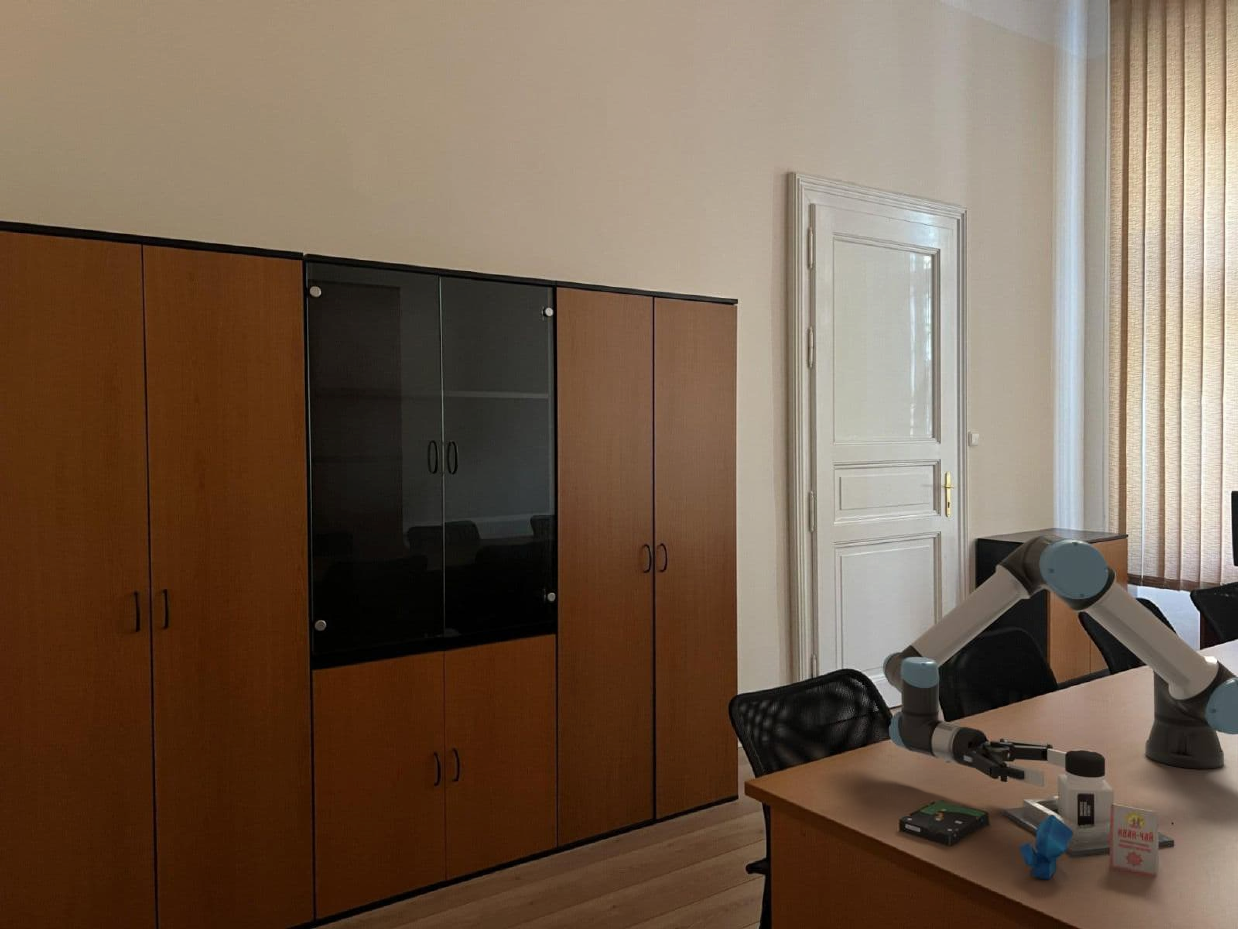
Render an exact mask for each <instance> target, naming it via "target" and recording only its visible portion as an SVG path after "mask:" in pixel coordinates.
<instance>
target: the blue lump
mask: <svg viewBox="0 0 1238 929" xmlns="http://www.w3.org/2000/svg"><path fill="white" fill-rule="evenodd" d="M1072 835H1073V831H1072V830H1071V829H1069V828H1068V827H1067V826H1066V825H1065V824H1064V823H1062V822H1061V821H1060V820H1059V819H1058V818H1056V817H1055V816H1054V815H1050V816H1049V817H1048V818H1047V819H1046V820H1044V821H1043V822H1042V823H1041V824H1040V825H1038V829H1037V835H1036V838H1035V844H1034V847H1033V845H1032V843H1029V842H1028V843H1025V844H1022V845H1020V846H1019V851H1020V853H1021V855H1022V857H1023V860H1024V862H1025V863H1026V865H1027V867H1032V876H1033V877H1034V878H1037V879H1041V880H1046V881H1048V880H1049V879H1051V877H1052V875H1053V874H1054V872H1055V870H1056V869H1057V868H1058V865H1057V862H1058V858H1060V857H1061V856H1062V855H1063V854H1065V850H1066V848H1067V846H1068V844H1069V841H1070V839H1071V837H1072ZM1034 848H1035V849H1034Z"/></svg>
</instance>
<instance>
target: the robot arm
mask: <svg viewBox="0 0 1238 929" xmlns="http://www.w3.org/2000/svg"><path fill="white" fill-rule="evenodd" d="M1044 589H1045V590H1048V591H1049V592H1051V593H1052V594H1053V595H1054V596H1056V598H1058V599H1060V600H1061V602H1063V603H1064V604H1065V605H1066V606H1067V607H1069V608H1070V609H1071V610H1073V612H1077V613H1079V612H1080V613H1081V612H1082V613H1083V612H1085V613H1087V614H1088V615H1089V616H1090V617H1091V618H1092V619H1093V620H1094V621H1096V622H1097V623H1099V625H1101V626H1102V627H1103V628H1104V629H1105V630H1107V631H1108V633H1110V634H1111V635H1112V636H1113V637H1115V639H1117V640H1118V641H1119V642H1120V643H1122V645H1123V646H1125V647H1126V648H1127V649H1128V650H1129V651H1130V652H1132V653H1133V654H1134V655H1135V656H1136V657H1137V658H1138V659H1140V660H1141V661H1142V662H1143V663H1144V664H1146V666H1148V667H1149V668H1150V669H1151V670H1152V673H1153V709H1154V710H1153V714H1154V716H1153V723H1152V726H1151V729H1150V733H1149V735H1148V739H1147V740H1146V741H1145V746H1144V747H1145V751H1144V752H1145V755H1146V756H1147V757H1148V758H1149V759H1151V760H1153V761H1155V762H1158V763H1161V764H1164V765H1169V766H1173V767H1179V768H1184V769H1185V768H1187V769H1195V770H1196V769H1198V770H1199V769H1201V770H1203V769H1204V770H1205V769H1206V770H1208V769H1216V768H1220V767H1222V766H1224V764H1225V753H1224V750H1223V748H1222V746H1221V743H1220V740H1219V736H1218V734H1217V733H1223V734H1226V735H1230V736H1231V735H1232V736H1233V735H1234V736H1235V735H1238V676H1237V675H1235V674H1234V673H1233V672H1232V671H1231V670H1229V669H1228V668H1227V667H1226V666H1225V665H1224V664H1222V663H1221V662H1220V661H1219V660H1218V659H1217V658H1215V657H1214V656H1213V655H1210V654H1199V653H1198V652H1197V651H1196V650H1195V649H1194V648H1192V647H1191V646H1190V645H1189V644H1188V643H1186V641H1184V640H1183V639H1182V638H1181V637H1180V636H1178V634H1177V633H1175V632H1174V631H1173V630H1172V629H1171V628H1169V627H1168V626H1167V625H1166V624H1165V623H1164V622H1162V621H1161V619H1159V618H1158V617H1157V616H1156V615H1155V614H1153V613H1152V612H1151V611H1150V610H1149V609H1147V608H1146V607H1145V605H1143V604H1142V603H1140V601H1138V600H1137V599H1136V598H1135V597H1134V596H1133V595H1131V593H1129V592H1128V591H1127V590H1125V589H1124V588H1123V587H1122V585H1120V584H1119V583H1118V582H1117V573H1116V571H1115V570H1114V569H1113V568H1112V567H1111V566H1110V565H1108V562H1107V560H1106V558H1105V557H1104V555H1103V554H1102V553H1101V551H1100V550H1099V549H1097V548H1096V547H1095V546H1093V545H1092V544H1090V543H1088V542H1086V541H1084V540H1080V539H1077V538H1068V537H1062V536H1059V535H1056V534H1040V535H1037V536H1033V537H1032V538H1030V539H1028V540H1027V541H1026V542H1024V543H1022V544H1021V545H1019V547H1017V548H1016V549H1015V550H1014V551H1012V552H1011V553H1010V554H1009V555H1008V556H1007V557H1005V558H1004V559H1002V560H1001V561H1000V562H999V563H998V564H997V565H996V566H995V572H994V573H993V575H991V576H990V577H989V578H988V579H986V580H985V581H983V583H982V584H981V585H979V586H978V587H977V588H976V589H975V590H973V591H972V592H971V593H970V594H969V595H967V596H966V597H965V598H964V599H963V600H962V601H961V602H959V604H957V605H956V606H954V608H952V609H951V610H950V611H949V612H948V613H947V614H945V615H944V616H942V618H940V619H939V620H938V621H937V622H936V623H934V624H933V625H932V626H931V627H930V628H928V629H927V630H926V631H924V633H923V634H922V635H920V636H919V637H918V638H917V639H916V640H914V641H913V642H912V643H910V644H909V645H908V646H907V647H905V648H904V649H903V650H902V651H895V652H893V653H890V654H889V655H888V656H886V658H885V659H884V661H883V665H882V672H883V675H884V677H885V678H886V680H887V682H888V683H889V685H890V686H892V687H893V688H895V689H896V691H898V692H899V693H900V695H901V696H900V697H901V699H900V700H901V711H898V712H896V713H895V714H894V715H893V716H892V718H891V720H890V722H891V723H890V725H889V727H888V733H889V737H890V740H891V741H892V743H893V744H894V745H896V746H897V747H899V748H902V749H905V750H908V751H910V752H913V753H918V754H921V755H926V756H929V757H933V758H936V759H941V760H945V762H946V763H948V764H951V763H957V764H958V765H962V766H964V767H968V768H973V769H976V770H977V771H979V772H981V773H983V774H984V775H987V776H988V777H989V778H991V779H994V780H998V779H1000V782H1001V783H1002V782H1003V783H1007V782H1008V779H1011V780H1015V781H1018V782H1021V783H1025V784H1028V785H1032V786H1036V787H1040V788H1044V787H1045V771H1043V770H1039V769H1036V768H1032V767H1028V766H1024V765H1021V764H1017V763H1014V762H1015V760H1022V761H1023V760H1024V761H1037V762H1039V761H1040V762H1041V761H1042V762H1047V764H1050V765H1054V766H1057V767H1061V768H1065V754H1066V753H1067V752H1065V751H1061V750H1056V749H1053V746H1054V745H1052V744H1051V743H1048V742H1047V743H1038V742H1031V741H1030V742H1027V741H1020V740H1019V741H1018V740H1011V739H1008V738H1003V737H1002V738H999V741H998V740H989V739H988V738H987V735H986V734H985V732H984V731H982V730H981V729H976V728H973V727H969V726H963V724H957V723H952V722H948V721H944V720H941V719H939V714H940V712H939V708H940V707H939V706H940V705H939V704H940V703H939V701H940V700H939V699H940V698H939V697H940V696H939V695H940V694H939V692H940V690H939V689H940V675H939V673H940V672H939V668H940V667H941V666H942V665H943V664H945V662H946V661H948V660H949V659H950V658H951V657H952V656H954V655H955V654H956V653H957V652H958V651H960V650H961V649H962V648H964V647H966V645H968V643H969V642H971V641H972V640H973V639H974V638H976V637H977V636H978V635H979V634H980V633H982V632H983V631H984V630H985V629H986V628H987V627H989V626H990V625H991V624H992V623H994V622H995V621H996V620H998V618H999V617H1001V616H1002V615H1003V614H1004V613H1005V612H1007V611H1008V610H1009V609H1010V608H1012V607H1013V606H1014V605H1015V604H1016V603H1018V602H1019V601H1021V600H1028V599H1030V598H1031V597H1033V595H1035V594H1036V593H1038V592H1040V591H1042V590H1044ZM1007 762H1009V763H1007Z"/></svg>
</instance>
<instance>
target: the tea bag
mask: <svg viewBox="0 0 1238 929" xmlns="http://www.w3.org/2000/svg"><path fill="white" fill-rule="evenodd" d="M1158 822H1159V821H1158V811H1156V810H1149V809H1144V808H1137V807H1131V806H1126V805H1122V804H1117V803H1114V804H1111V819H1110V853H1109V868H1112V869H1117V870H1121V871H1122V870H1123V871H1127V872H1131V873H1135V874H1136V873H1137V874H1141V875H1146V876H1149V877H1156V878H1157V876H1158V875H1157V874H1158V871H1159V866H1160V864H1159V862H1160V860H1159V853H1160V852H1159V847H1158V832H1159V823H1158Z"/></svg>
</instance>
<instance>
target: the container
mask: <svg viewBox="0 0 1238 929" xmlns="http://www.w3.org/2000/svg"><path fill="white" fill-rule="evenodd" d="M1064 769H1065V770H1064V772H1065V773H1058V774H1057V796H1058V814H1059V815H1060V816H1062V817H1063V818H1065V819H1067V820H1069V821H1070V822H1072V823H1074V824H1076V825H1078V826H1080V825H1089V824H1099V823H1108V822H1110V819H1111V804H1115V801H1114V799H1115V798H1114V796H1115V794H1114V789H1113V788H1112V787H1111V785H1109V783H1108V782H1107V781H1106V758H1105V757H1104V755H1102V754H1100V753H1099V752H1096V751H1094V750H1091V749H1090V750H1089V749H1084V748H1083V749H1081V748H1077V749H1071V750H1069V751H1067V752H1066V754H1065V767H1064Z"/></svg>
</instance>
